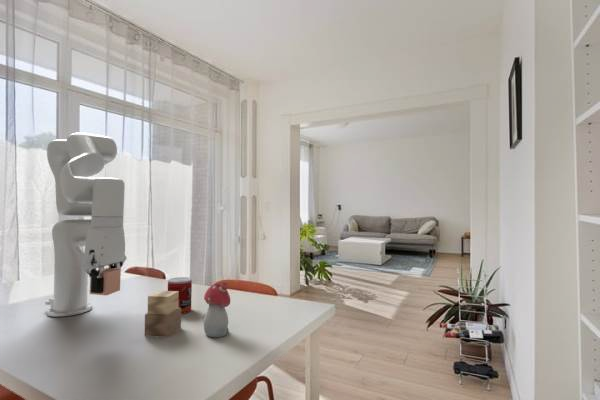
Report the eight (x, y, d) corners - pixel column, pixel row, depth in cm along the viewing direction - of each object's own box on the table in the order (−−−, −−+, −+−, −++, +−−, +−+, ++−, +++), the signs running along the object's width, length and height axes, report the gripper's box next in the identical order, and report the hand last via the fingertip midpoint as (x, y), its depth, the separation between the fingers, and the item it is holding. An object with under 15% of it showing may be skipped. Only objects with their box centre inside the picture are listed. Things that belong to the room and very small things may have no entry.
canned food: (183, 315, 105) (184, 282, 106) (162, 313, 107) (162, 281, 107) (195, 308, 113) (196, 277, 113) (175, 307, 115) (176, 276, 115)
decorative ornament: (233, 336, 88) (234, 282, 88) (210, 342, 84) (210, 285, 85) (222, 326, 96) (222, 276, 96) (200, 330, 92) (200, 279, 93)
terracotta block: (89, 294, 84) (90, 271, 84) (103, 289, 89) (104, 267, 89) (106, 295, 83) (107, 272, 83) (119, 290, 88) (120, 268, 88)
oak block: (147, 313, 89) (147, 296, 89) (159, 307, 95) (159, 290, 95) (167, 314, 88) (168, 296, 88) (178, 308, 94) (178, 291, 94)
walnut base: (144, 336, 88) (144, 314, 89) (158, 326, 95) (159, 306, 96) (167, 337, 87) (168, 315, 88) (180, 328, 94) (181, 307, 95)
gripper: (117, 220, 95) (115, 281, 95) (68, 224, 79) (65, 297, 78) (140, 221, 94) (138, 282, 94) (95, 225, 77) (92, 300, 77)
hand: (105, 288), depth 86 cm, fingers closed on terracotta block, 5 cm apart
